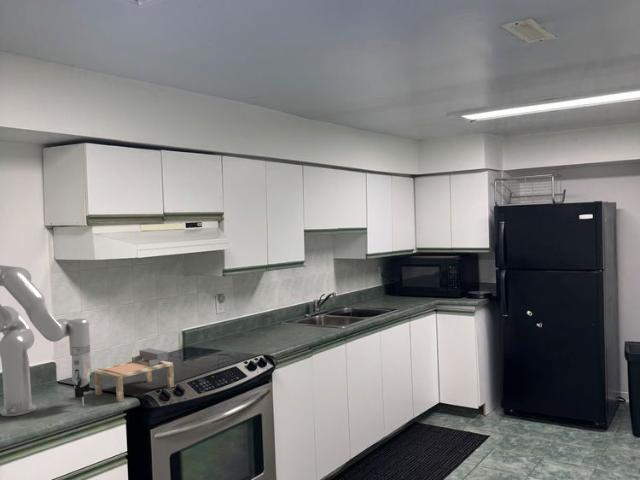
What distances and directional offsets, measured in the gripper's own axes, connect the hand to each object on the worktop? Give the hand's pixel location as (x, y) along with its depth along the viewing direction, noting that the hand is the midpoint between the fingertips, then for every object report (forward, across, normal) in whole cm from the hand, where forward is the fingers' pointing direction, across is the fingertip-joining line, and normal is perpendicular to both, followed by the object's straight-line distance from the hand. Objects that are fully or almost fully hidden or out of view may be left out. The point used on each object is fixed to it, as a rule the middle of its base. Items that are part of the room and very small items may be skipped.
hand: (82, 393), depth 235 cm
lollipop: (+5, 0, 0) cm, 5 cm away
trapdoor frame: (+5, +18, -17) cm, 25 cm away
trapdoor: (-5, +18, -18) cm, 26 cm away
